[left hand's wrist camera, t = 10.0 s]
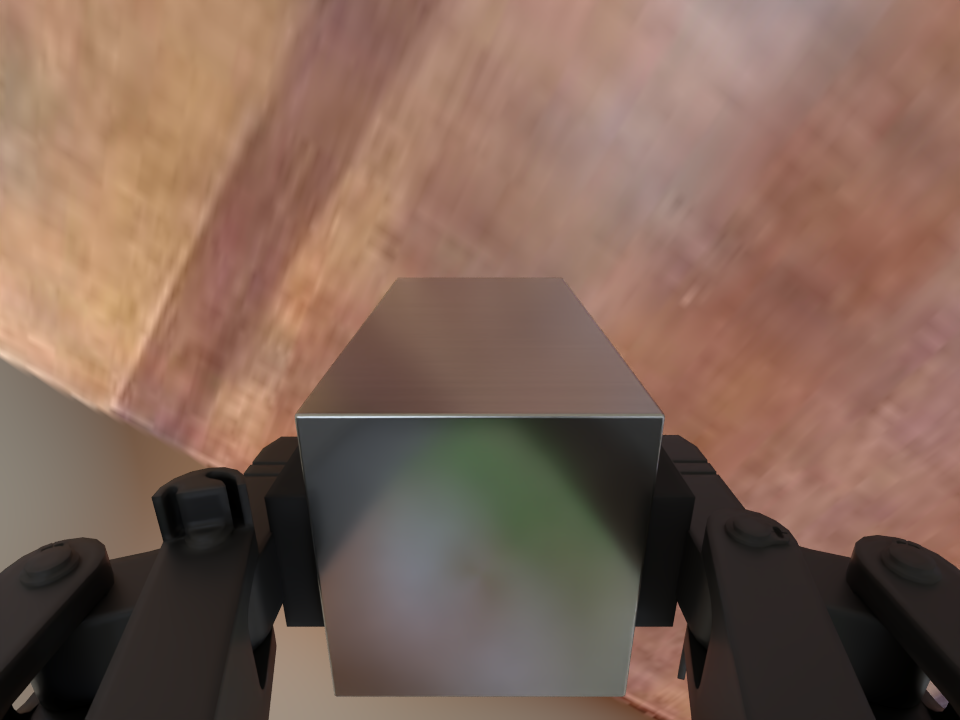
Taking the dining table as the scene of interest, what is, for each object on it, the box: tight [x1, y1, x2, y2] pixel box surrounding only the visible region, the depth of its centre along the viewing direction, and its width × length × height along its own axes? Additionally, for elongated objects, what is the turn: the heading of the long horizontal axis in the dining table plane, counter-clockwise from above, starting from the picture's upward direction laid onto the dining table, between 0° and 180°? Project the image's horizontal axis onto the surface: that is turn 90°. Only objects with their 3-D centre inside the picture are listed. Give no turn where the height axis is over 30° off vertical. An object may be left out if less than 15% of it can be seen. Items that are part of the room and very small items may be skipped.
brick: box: [295, 278, 665, 697], centre depth 13 cm, size 5×6×10 cm
